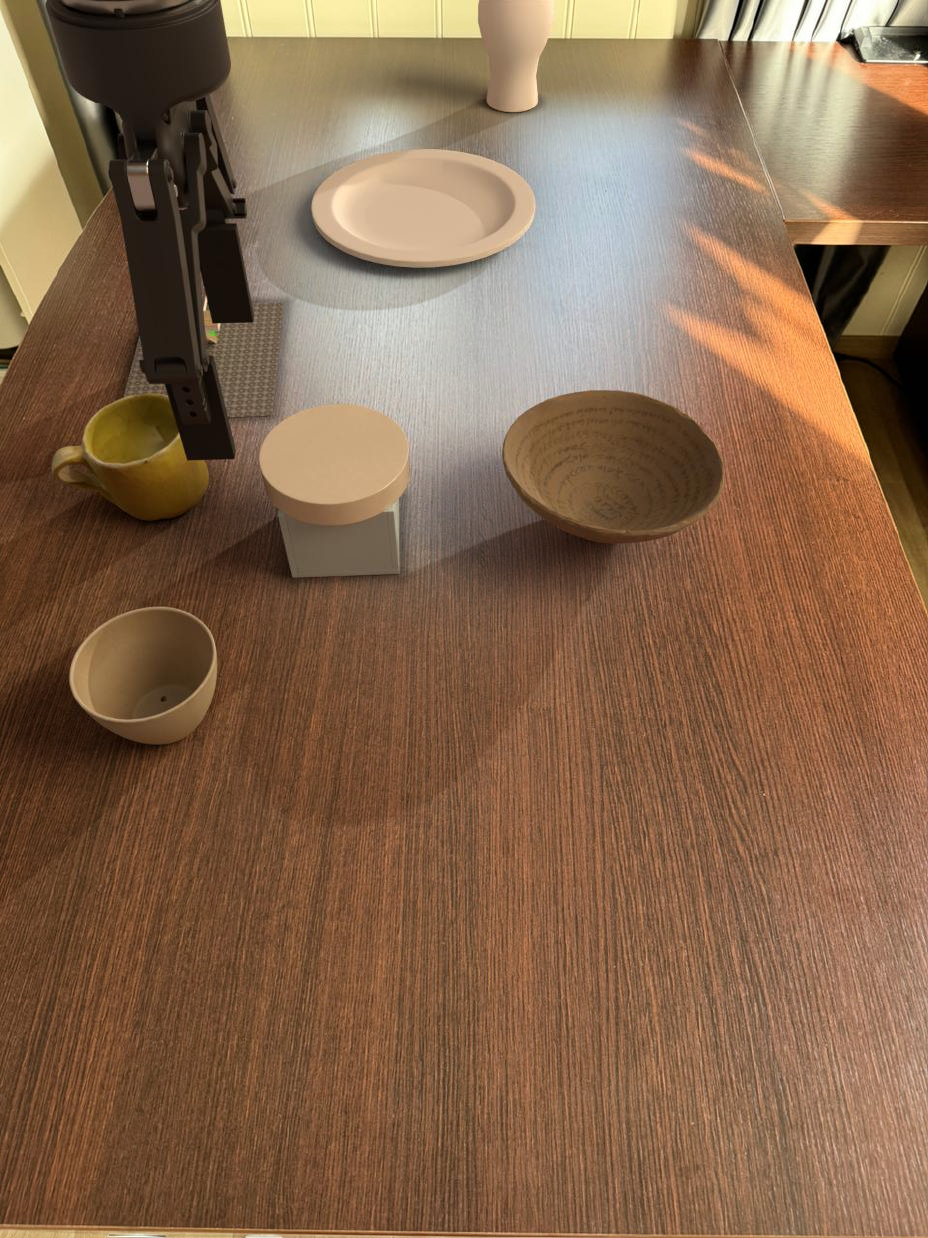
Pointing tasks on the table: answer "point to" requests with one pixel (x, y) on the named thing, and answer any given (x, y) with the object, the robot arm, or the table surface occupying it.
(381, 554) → the container
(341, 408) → the small plate
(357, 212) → the plate
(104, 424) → the mug
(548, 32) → the cup
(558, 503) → the bowl
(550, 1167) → the table surface
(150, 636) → the flower pot
